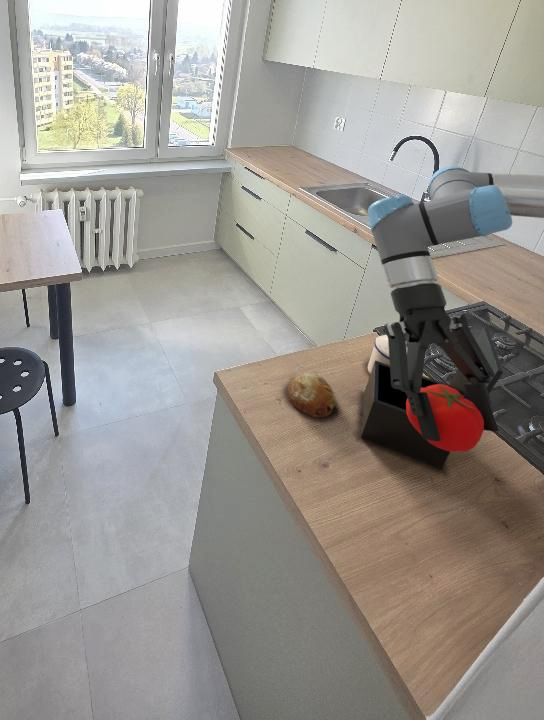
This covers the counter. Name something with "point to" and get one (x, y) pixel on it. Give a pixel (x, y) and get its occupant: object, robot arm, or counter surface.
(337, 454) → the counter surface
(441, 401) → the tomato
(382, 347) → the teacup with lid
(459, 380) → the bin lid
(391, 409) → the black open box
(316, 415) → the bread roll
